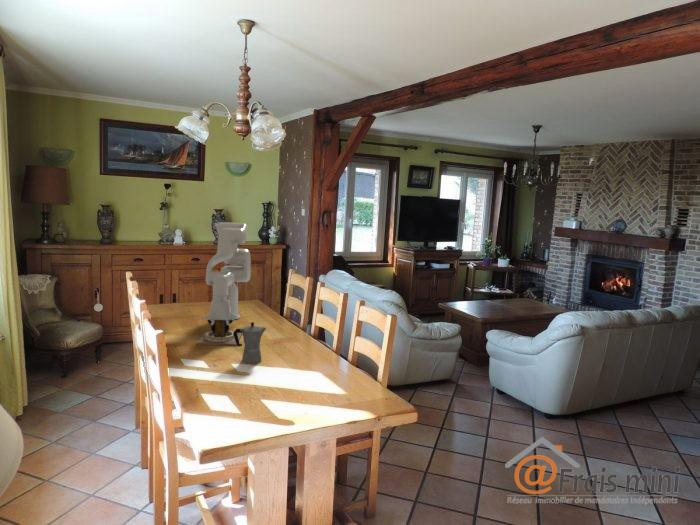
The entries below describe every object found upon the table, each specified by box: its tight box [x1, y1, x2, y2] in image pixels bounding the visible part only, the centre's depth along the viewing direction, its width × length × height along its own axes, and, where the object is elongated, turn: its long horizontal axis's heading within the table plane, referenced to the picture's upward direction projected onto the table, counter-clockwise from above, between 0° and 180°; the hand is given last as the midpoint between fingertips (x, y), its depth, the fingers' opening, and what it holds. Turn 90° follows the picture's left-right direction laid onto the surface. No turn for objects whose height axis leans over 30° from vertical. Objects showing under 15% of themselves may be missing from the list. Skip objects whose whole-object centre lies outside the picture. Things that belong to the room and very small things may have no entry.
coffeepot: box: [233, 321, 267, 365], centre depth 225 cm, size 15×9×18 cm, turn 119°
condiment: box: [212, 320, 227, 337], centre depth 254 cm, size 7×8×12 cm
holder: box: [195, 330, 243, 347], centre depth 255 cm, size 20×20×3 cm
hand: (220, 331), depth 254 cm, fingers closed on condiment, 6 cm apart
